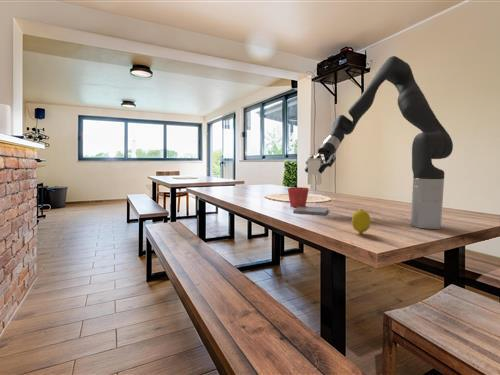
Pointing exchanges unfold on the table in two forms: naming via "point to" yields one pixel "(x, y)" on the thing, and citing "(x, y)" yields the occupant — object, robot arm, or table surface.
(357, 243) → the table surface
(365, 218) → the lemon
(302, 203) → the flower pot
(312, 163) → the stool
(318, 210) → the trivet
